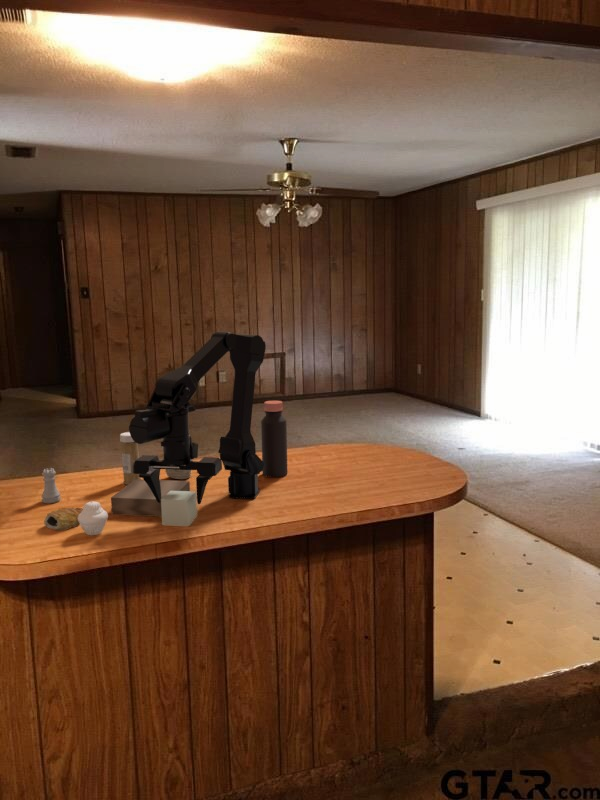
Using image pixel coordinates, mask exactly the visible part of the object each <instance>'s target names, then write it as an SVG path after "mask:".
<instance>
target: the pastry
mask: <svg viewBox="0 0 600 800" xmlns="http://www.w3.org/2000/svg"><path fill="white" fill-rule="evenodd" d="M82 510H83V508H82V507H75V508H74V507H61V508H58V509H56V510H55V509H54V510H52V511H50V512H48V513H47V514H46V516H45V518H44V521H43V524H44V525H45V527H46V528H48V529H50V530H56V531H66V530H70V529H71V528H72V527H77V526H80V523H79V521H78V516H79V514H80V513H81V512H82Z"/></svg>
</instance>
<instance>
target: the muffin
mask: <svg viewBox="0 0 600 800" xmlns="http://www.w3.org/2000/svg"><path fill="white" fill-rule="evenodd" d="M82 507H83V508H82V509H83V510H82V512H81V513H80V514H79V516H78V521H79V523H80V524H79V526H80V527H81V529H82V530H83V531H84V533H85V534H86V535H88V536H97V535H99V534H101V533H102V532H103V530H104V528H105V526H106V525H107V524H106V523H107V521H108V518H109V514H108V512H107V511H106V510H104V508H103V507H102V506H101V503H100V502H98V501H88V502H86V503H85V504H84V505H83V506H82Z"/></svg>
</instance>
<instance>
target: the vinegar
mask: <svg viewBox="0 0 600 800" xmlns="http://www.w3.org/2000/svg"><path fill="white" fill-rule="evenodd" d="M283 404H284V403H283V401H282V400H266V401H264V402H263V405H264V406H263V407H264V408H263V409H264V413H265V415H264V417H263V418H262V419H261V422H260V423H261V424H260V426H261V428H260V429H261V430H260V431H261V433H260V435H261V460H262V461H263V462H264V467H263V471H262V474H263V475H262V476H264V477H266V476H267V478H281V477H285V476H286V475H287V474H288V439H287V436H288V433H287V430H288V427H287V426H288V425H287V418H285V417H284V416H283V414H282V413H283V410H284V408H283Z"/></svg>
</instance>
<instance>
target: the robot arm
mask: <svg viewBox="0 0 600 800" xmlns="http://www.w3.org/2000/svg"><path fill="white" fill-rule="evenodd" d="M228 352H229V359H230V363H231V365H232V367H233V369H234V379H233V391H232V399H231V400H232V401H231V411H230V412H231V413H230V424H229V430H228V432H227V433H226V434H225V436H220V438H219V449H218V452H217V453H218V454H219V456H218V457H217V456H215V457H214V456H213V457H212V456H203V457H202V458H201V459H200V460H199V461H194V459H197V458H198V457H199V456H198V455H199V444H198V443H196V442H193V441H192V435H190V425H189V424H190V422H189V413H193V412H196V407H195V406H193V405H192V404H191V403H190V401H191V399H192V398H193V397H194V395H195V394H196V392H197V390H198V384H199V382H200V381H201V379H202V378H203V377H204V376H205V375H206V374H208V372H210V370H212V368H213V367H214V366H215V365H216V364H217V363H218V362H219V361H220V360H221V359H222V358H223V357H224V356H225V355H226V354H227V353H228ZM265 354H266V341H265V340H264V339H263V337H262V336H261V335H259V334H245V333H244V334H243V333H241V334H239V333H238V334H236V333H232V332H229V331H216V332H214V333H212V335H211V337H210V338H209V339H208V341H206V343H205V344H203V346H201V347H200V349H199V350H197V351H196V352H195V353H194V354H193V355H191V357H190V358H189V359H188V360H187V361H186V362H185V363H183V365H181V366H180V367H177V368H176V369H173V370H171V371H170V370H169V371H168V372H167V373H165V374H164V375H162V376H161V377H159V378H158V379H157V380H156V382H155V384H154V386H155V388H154V389H153V391H152V393H151V395H150V397H149V400H148V402H147V404H146V406H145V409H139V410H138V409H137V410H135V411H134V417H133V418H131V420H130V423H129V426H128V432H130V435H131V437H132V439H133V440H134V441H135V442H136V443H138V445H143V444H146V443H147V444H148V443H150V442H154V441H157V440H161V439H162V440H161V441H160V446H161V447H162V451H163V459H161V460H160V457H159V456H158V455H149V454H147V455H146V454H143V455H142V456H139V458H138V459H137V460H135V461H134V462H133V473H134V474H139V477H140V479H141V478H142V479H143V480H144V481H145V482H146V483H147V485H148V486H149V488H150V489H151V491H152V493H153V494H154V496H155V498H156V500H157V502H158V503H160V502H161V487H160V480H161V479H160V476H161V470H165V469H174V470H191V471H196V473H197V474H198V475H197V476H196V478H195V479H196V481H195V482H196V484H195V485H196V500H197V505H200V504H201V503H202V500H203V498H204V497H203V496H204V494H205V489H206V487H207V485H208V483H209V480H211V479H212V478H213V477H216V476H217V475H218V474H219V473H220V472H221V471H222V469H223V468H224V470H225V471H229V476H228V478H227V480H228V481H227V483H228V484H227V485H228V489H227V490H228V493H229V495H228V498H230V499H245V500H246V499H247V500H250V499H251V500H252V499H253V500H254V499H256V497H257V496H258V494H259V493H260V492H261V489H259V477H258V475H259V474H260V473H263V467H264V462H263V461H262V458H260V457H259V455H257V451H256V449H257V448H256V441H255V440H254V437H253V434H252V433H251V428H252V414H253V404H254V395H255V394H254V393H255V384H256V373H257V372H258V370H259V368H260V367H261V366H262V364H263V363H264V359H265ZM189 435H190V436H189ZM191 459H193V461H190V460H191ZM180 465H186V466H180Z"/></svg>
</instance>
